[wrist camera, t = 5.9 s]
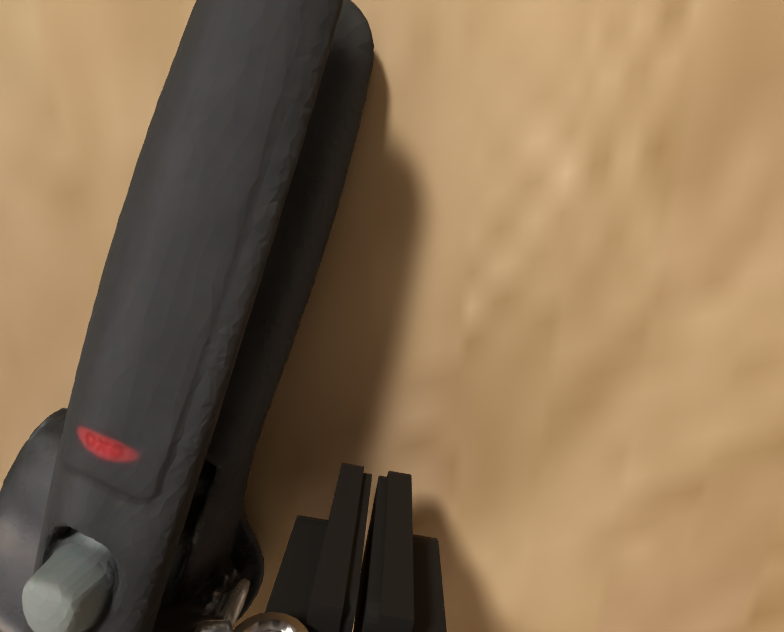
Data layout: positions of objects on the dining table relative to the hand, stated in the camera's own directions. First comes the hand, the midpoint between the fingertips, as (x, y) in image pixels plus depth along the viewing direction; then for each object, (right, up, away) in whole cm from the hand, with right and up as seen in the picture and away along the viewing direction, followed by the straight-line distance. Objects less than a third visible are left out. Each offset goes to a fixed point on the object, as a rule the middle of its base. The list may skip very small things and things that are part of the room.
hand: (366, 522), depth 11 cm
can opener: (-4, +4, +1) cm, 5 cm away
